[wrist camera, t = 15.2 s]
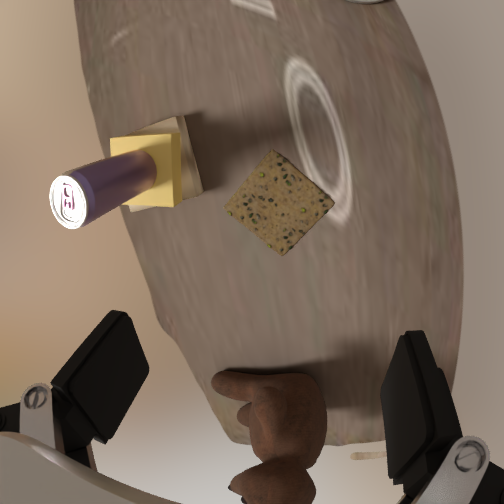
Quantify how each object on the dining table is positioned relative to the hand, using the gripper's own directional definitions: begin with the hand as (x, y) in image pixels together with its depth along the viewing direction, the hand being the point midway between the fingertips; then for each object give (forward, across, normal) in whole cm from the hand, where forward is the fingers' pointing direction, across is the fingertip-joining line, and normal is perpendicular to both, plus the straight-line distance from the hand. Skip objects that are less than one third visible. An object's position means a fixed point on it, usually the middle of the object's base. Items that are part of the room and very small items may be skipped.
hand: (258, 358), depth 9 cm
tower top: (+31, +21, -2) cm, 38 cm away
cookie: (+35, +3, +5) cm, 35 cm away
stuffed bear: (+34, +4, +46) cm, 58 cm away
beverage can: (+28, +21, -2) cm, 35 cm away
